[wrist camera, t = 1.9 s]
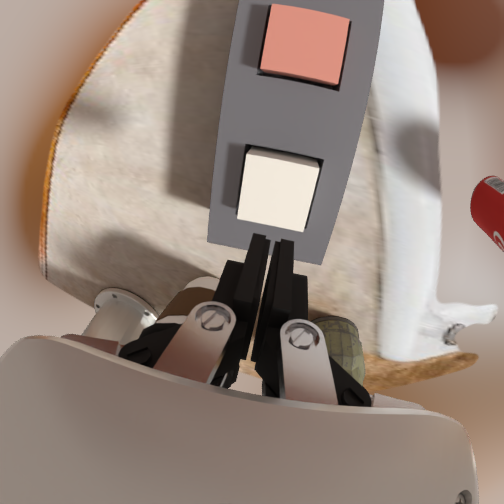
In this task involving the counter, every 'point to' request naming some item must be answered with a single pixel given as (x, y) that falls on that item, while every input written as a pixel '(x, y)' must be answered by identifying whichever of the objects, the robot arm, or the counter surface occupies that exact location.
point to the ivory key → (277, 188)
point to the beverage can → (489, 208)
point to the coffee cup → (188, 311)
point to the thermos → (343, 344)
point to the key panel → (291, 122)
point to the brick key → (304, 44)
